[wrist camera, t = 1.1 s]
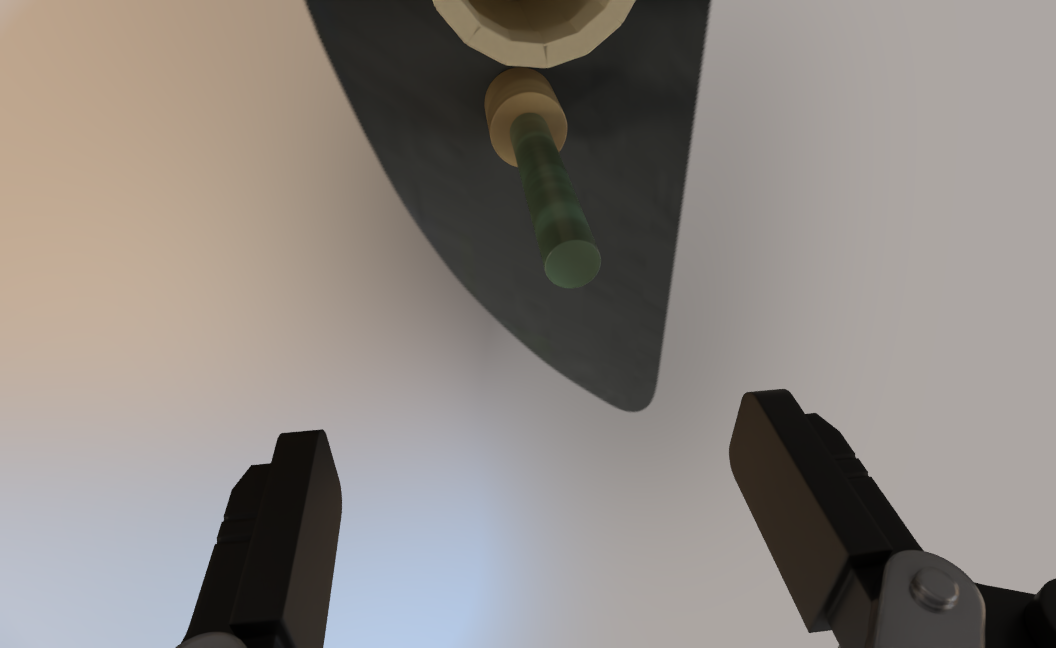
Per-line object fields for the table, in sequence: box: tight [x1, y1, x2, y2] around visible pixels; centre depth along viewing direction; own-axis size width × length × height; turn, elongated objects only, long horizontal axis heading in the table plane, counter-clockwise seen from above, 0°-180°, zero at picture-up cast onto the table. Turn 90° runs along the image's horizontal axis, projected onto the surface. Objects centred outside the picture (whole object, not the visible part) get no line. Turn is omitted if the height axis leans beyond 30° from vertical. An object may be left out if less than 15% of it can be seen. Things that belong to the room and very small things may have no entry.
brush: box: [485, 67, 601, 288], centre depth 29 cm, size 4×4×18 cm
